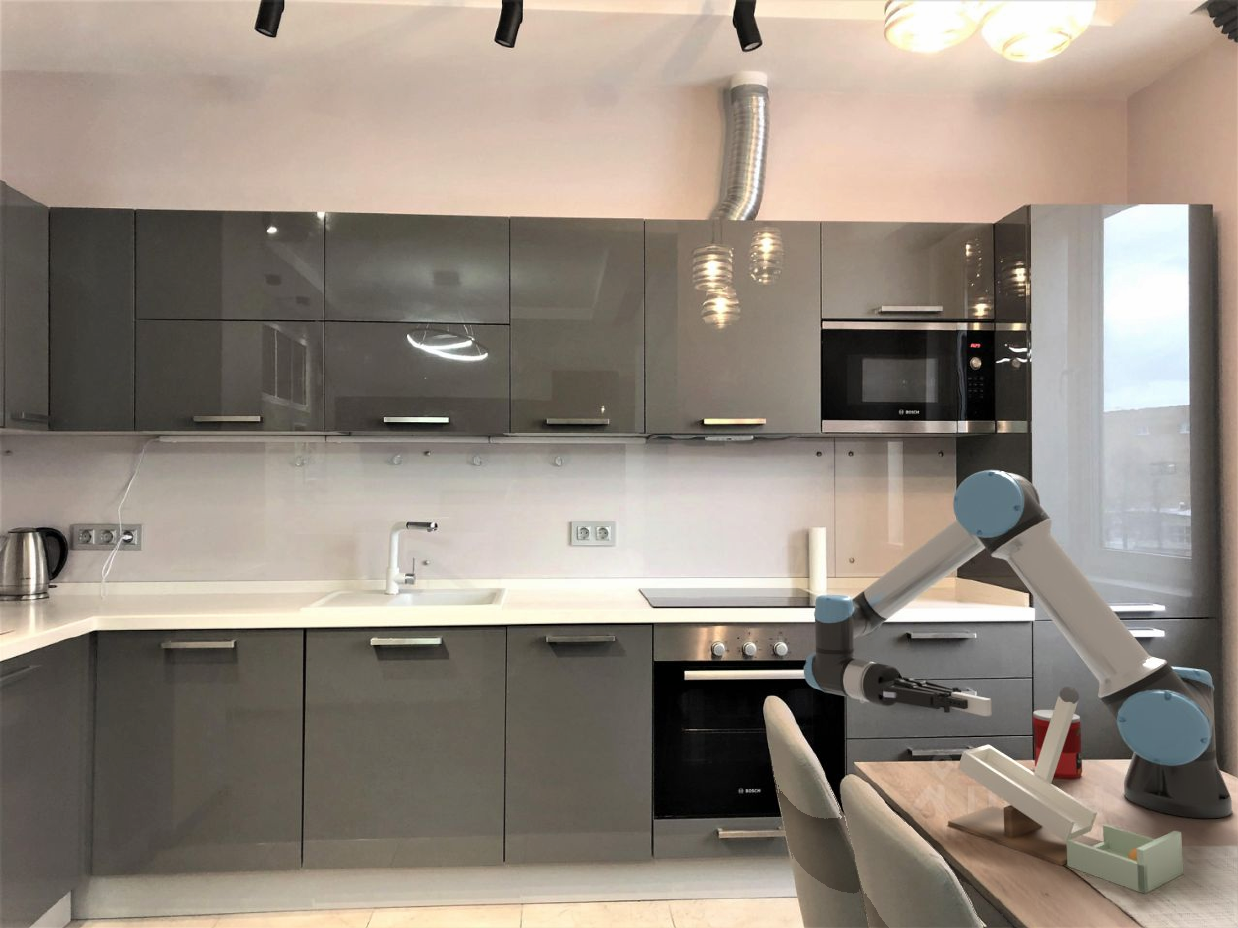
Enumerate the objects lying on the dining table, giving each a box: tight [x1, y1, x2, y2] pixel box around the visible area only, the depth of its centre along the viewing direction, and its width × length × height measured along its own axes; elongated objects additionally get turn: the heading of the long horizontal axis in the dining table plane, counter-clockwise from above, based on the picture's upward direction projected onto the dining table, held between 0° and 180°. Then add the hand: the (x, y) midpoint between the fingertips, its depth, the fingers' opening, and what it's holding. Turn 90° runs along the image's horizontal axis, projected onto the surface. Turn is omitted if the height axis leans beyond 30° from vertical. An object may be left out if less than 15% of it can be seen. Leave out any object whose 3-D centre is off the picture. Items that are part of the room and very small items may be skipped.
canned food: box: [1032, 709, 1083, 780], centre depth 154 cm, size 8×8×11 cm
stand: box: [947, 804, 1104, 867], centre depth 124 cm, size 18×12×5 cm, turn 33°
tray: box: [1066, 823, 1184, 895], centre depth 112 cm, size 10×11×6 cm
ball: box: [1128, 848, 1137, 861], centre depth 110 cm, size 3×3×3 cm
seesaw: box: [957, 686, 1098, 842], centre depth 123 cm, size 18×9×18 cm, turn 33°
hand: (988, 707), depth 134 cm, fingers closed
